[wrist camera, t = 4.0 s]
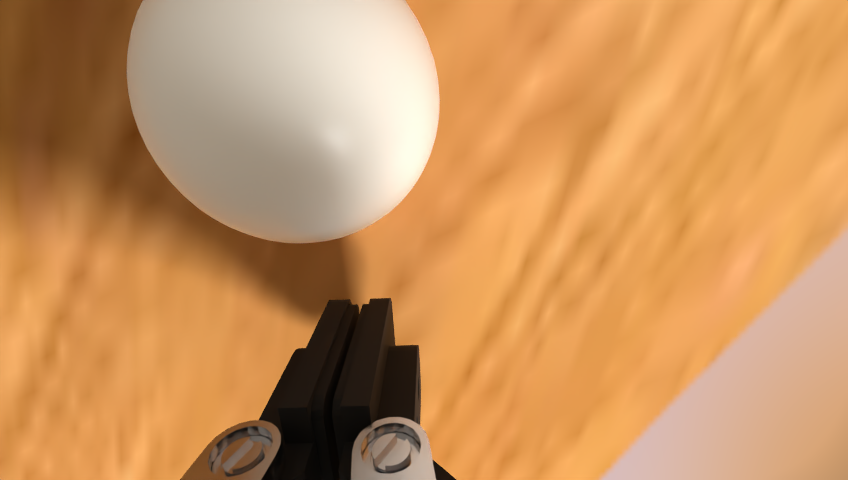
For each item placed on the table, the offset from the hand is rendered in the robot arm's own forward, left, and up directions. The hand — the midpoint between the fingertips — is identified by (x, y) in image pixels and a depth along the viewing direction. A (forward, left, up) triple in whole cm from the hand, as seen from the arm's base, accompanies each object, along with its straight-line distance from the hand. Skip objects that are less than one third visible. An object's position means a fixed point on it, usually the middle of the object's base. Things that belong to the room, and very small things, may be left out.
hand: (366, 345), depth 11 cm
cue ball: (+5, +4, +1) cm, 7 cm away
